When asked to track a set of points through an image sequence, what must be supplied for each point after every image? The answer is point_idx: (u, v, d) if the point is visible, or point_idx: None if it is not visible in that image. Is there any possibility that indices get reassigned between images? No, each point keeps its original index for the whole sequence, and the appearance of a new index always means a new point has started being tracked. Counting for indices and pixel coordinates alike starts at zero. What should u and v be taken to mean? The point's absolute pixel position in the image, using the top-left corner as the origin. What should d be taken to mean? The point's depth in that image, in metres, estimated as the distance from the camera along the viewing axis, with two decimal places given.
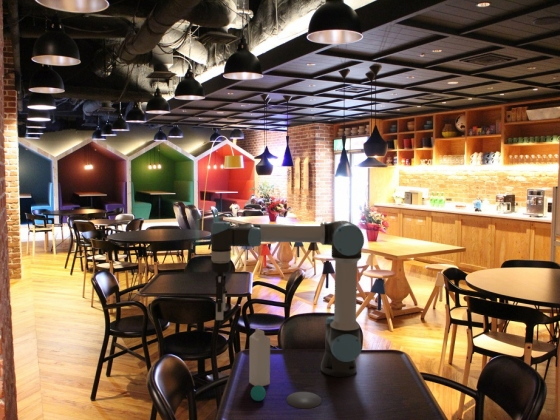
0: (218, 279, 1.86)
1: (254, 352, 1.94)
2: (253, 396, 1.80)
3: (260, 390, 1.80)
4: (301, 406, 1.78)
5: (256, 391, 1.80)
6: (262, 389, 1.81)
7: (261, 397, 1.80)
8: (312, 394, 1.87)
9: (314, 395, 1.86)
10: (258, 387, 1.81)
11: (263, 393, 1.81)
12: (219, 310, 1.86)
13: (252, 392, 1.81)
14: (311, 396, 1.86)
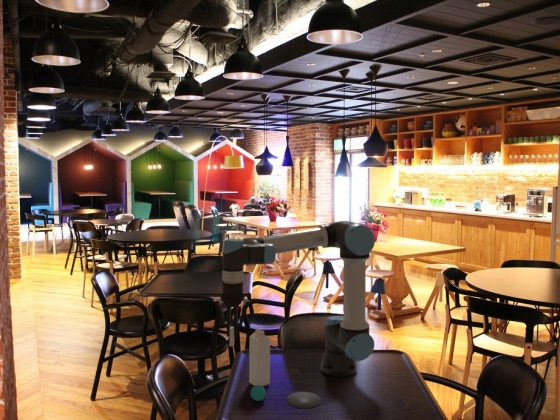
0: (248, 304, 1.79)
1: (254, 352, 1.94)
2: (253, 396, 1.80)
3: (260, 390, 1.80)
4: (301, 406, 1.78)
5: (256, 391, 1.80)
6: (262, 389, 1.81)
7: (261, 397, 1.80)
8: (312, 394, 1.87)
9: (314, 395, 1.86)
10: (258, 387, 1.81)
11: (263, 393, 1.81)
12: None
13: (252, 392, 1.81)
14: (311, 396, 1.86)
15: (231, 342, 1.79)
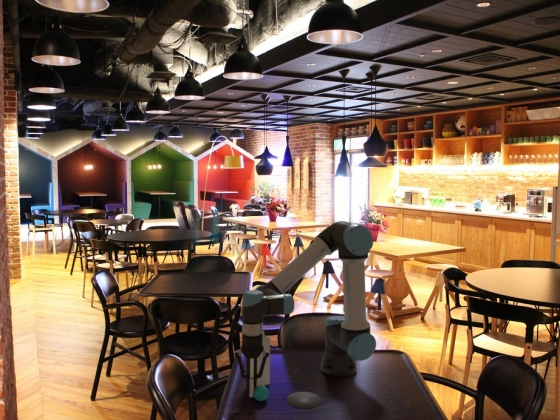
0: None
1: None
2: (256, 395, 1.80)
3: (264, 391, 1.80)
4: (301, 406, 1.78)
5: (260, 391, 1.80)
6: (266, 390, 1.81)
7: (263, 398, 1.80)
8: (312, 394, 1.87)
9: (314, 395, 1.86)
10: (262, 387, 1.81)
11: (266, 394, 1.81)
12: (256, 384, 1.82)
13: (255, 391, 1.81)
14: (311, 396, 1.86)
15: (251, 393, 1.81)
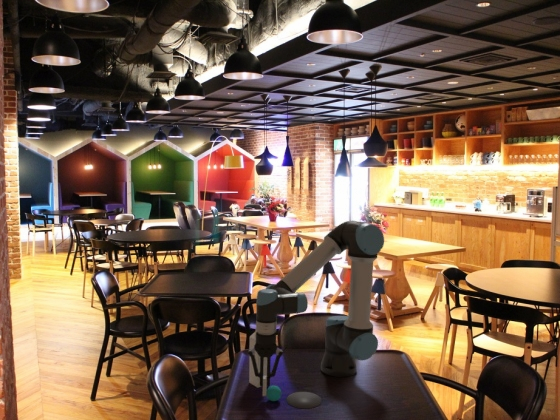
0: None
1: None
2: (270, 393, 1.80)
3: (279, 394, 1.81)
4: (301, 406, 1.78)
5: (276, 392, 1.80)
6: (280, 394, 1.81)
7: (275, 399, 1.80)
8: (312, 394, 1.87)
9: (314, 395, 1.86)
10: (279, 390, 1.81)
11: (278, 398, 1.81)
12: (269, 383, 1.82)
13: (272, 389, 1.81)
14: (311, 396, 1.86)
15: (264, 392, 1.81)
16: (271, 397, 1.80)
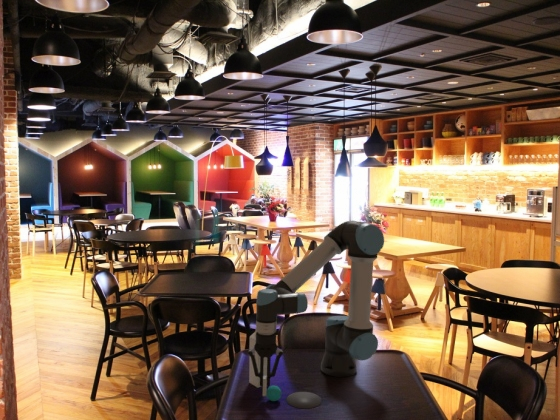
0: None
1: None
2: (270, 393, 1.80)
3: (279, 394, 1.81)
4: (301, 406, 1.78)
5: (276, 392, 1.80)
6: (280, 394, 1.81)
7: (275, 399, 1.80)
8: (312, 394, 1.87)
9: (314, 395, 1.86)
10: (279, 390, 1.81)
11: (278, 398, 1.81)
12: (269, 383, 1.82)
13: (272, 389, 1.81)
14: (311, 396, 1.86)
15: (264, 392, 1.81)
16: (271, 397, 1.80)
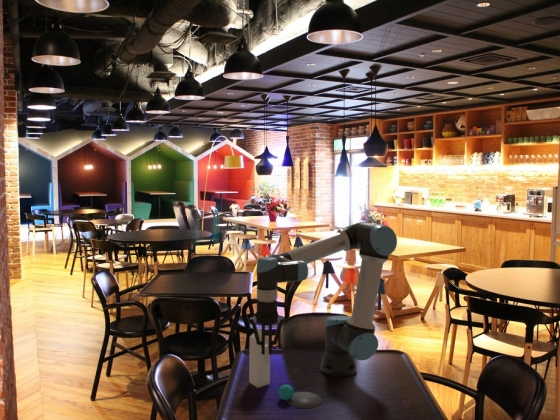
0: None
1: (254, 352, 1.94)
2: (290, 390, 1.81)
3: (287, 399, 1.81)
4: (301, 406, 1.78)
5: (290, 396, 1.81)
6: None
7: (283, 395, 1.81)
8: (312, 394, 1.87)
9: (314, 395, 1.86)
10: (290, 398, 1.82)
11: (283, 398, 1.81)
12: (271, 352, 1.81)
13: (292, 392, 1.82)
14: (311, 396, 1.86)
15: (266, 360, 1.80)
16: (286, 391, 1.81)
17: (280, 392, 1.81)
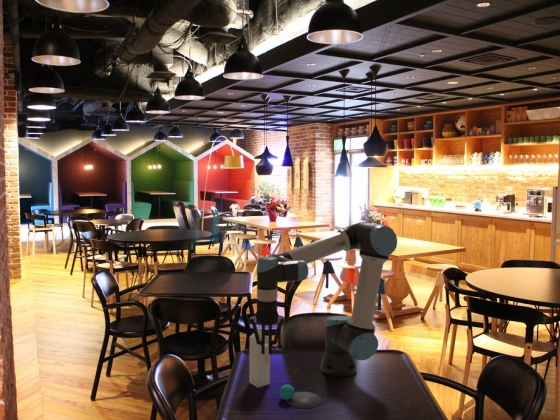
0: None
1: (254, 352, 1.94)
2: (291, 390, 1.81)
3: (288, 399, 1.81)
4: (301, 406, 1.78)
5: (291, 396, 1.81)
6: None
7: (284, 394, 1.81)
8: (312, 394, 1.87)
9: (314, 395, 1.86)
10: None
11: (284, 398, 1.81)
12: (271, 351, 1.81)
13: (293, 392, 1.82)
14: (311, 396, 1.86)
15: (266, 359, 1.80)
16: (287, 391, 1.81)
17: (281, 391, 1.82)
